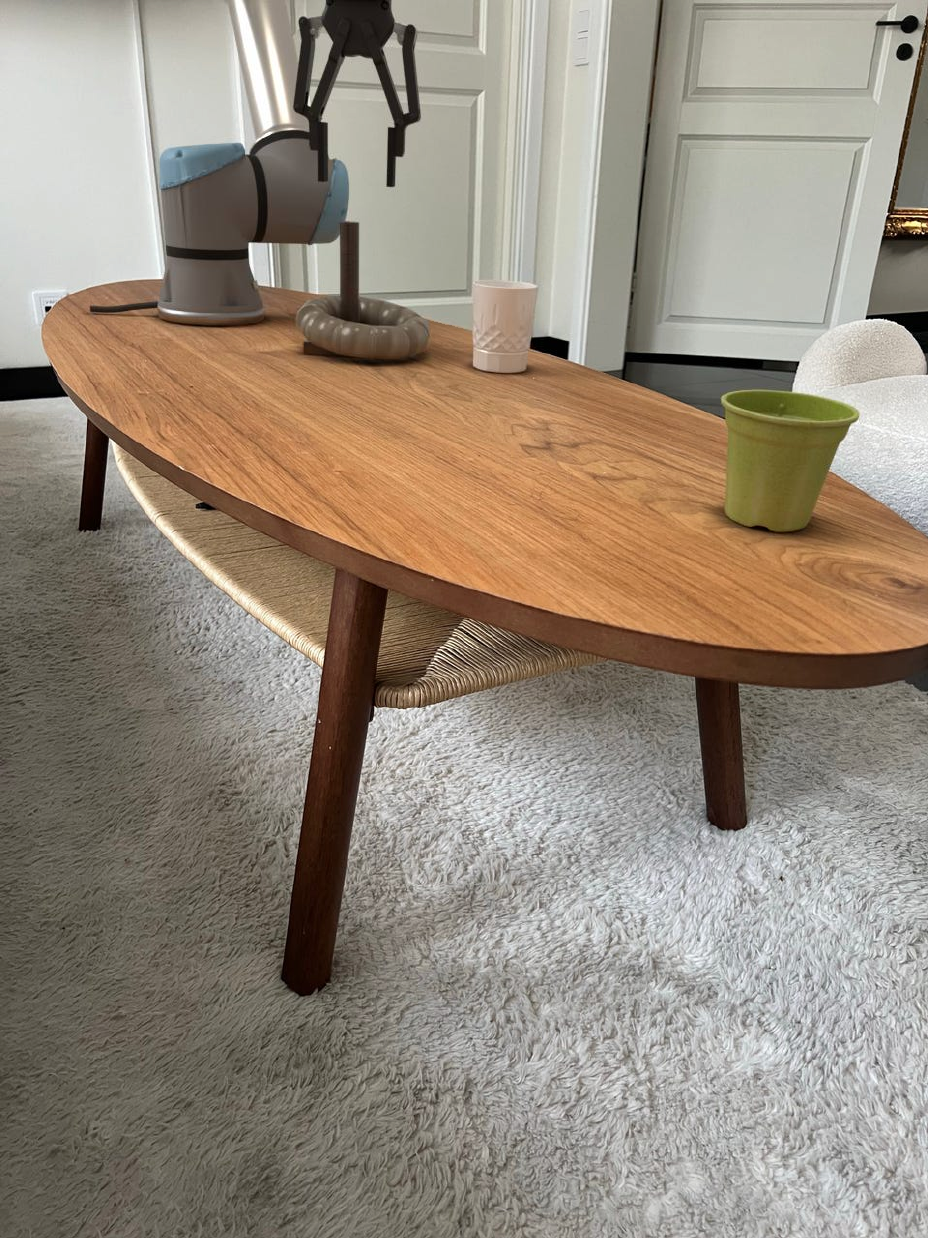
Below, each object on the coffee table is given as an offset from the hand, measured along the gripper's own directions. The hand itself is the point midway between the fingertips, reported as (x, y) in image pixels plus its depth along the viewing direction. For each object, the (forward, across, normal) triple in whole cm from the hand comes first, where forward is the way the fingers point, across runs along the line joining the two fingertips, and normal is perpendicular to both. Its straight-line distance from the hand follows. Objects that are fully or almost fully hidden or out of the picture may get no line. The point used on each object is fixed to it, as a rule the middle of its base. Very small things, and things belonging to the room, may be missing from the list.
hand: (356, 183), depth 113 cm
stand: (+20, 0, -3) cm, 20 cm away
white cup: (+20, +20, -9) cm, 29 cm away
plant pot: (+18, +41, -59) cm, 74 cm away
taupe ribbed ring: (+16, +2, -5) cm, 17 cm away
